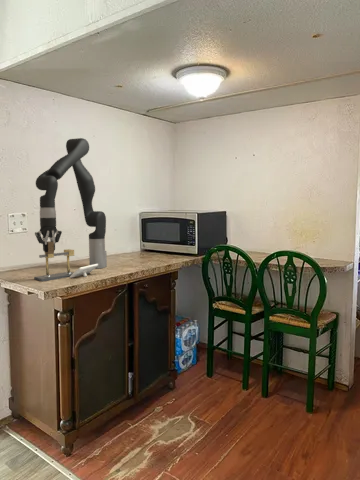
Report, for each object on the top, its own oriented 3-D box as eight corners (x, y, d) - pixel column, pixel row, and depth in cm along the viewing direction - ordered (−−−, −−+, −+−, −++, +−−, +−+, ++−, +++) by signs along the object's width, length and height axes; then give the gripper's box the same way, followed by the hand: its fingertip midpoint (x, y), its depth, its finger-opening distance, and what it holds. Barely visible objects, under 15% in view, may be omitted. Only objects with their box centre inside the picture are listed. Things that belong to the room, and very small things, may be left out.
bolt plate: (69, 273, 201) (69, 270, 201) (77, 275, 196) (77, 272, 196) (34, 279, 186) (34, 276, 186) (42, 281, 181) (42, 278, 181)
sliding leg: (49, 274, 189) (48, 241, 187) (54, 275, 186) (53, 241, 184) (44, 274, 187) (42, 241, 185) (49, 276, 183) (47, 242, 182)
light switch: (83, 274, 186) (101, 269, 199) (78, 266, 187) (96, 262, 200) (73, 283, 190) (91, 277, 203) (68, 275, 191) (87, 270, 204)
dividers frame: (69, 271, 198) (68, 249, 197) (74, 272, 195) (74, 249, 194) (36, 276, 185) (35, 252, 184) (41, 278, 181) (40, 253, 180)
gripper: (56, 216, 191) (58, 249, 192) (30, 217, 180) (31, 252, 182) (64, 216, 186) (65, 250, 187) (38, 217, 175) (39, 253, 177)
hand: (49, 251), depth 185 cm, fingers closed on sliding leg, 3 cm apart
